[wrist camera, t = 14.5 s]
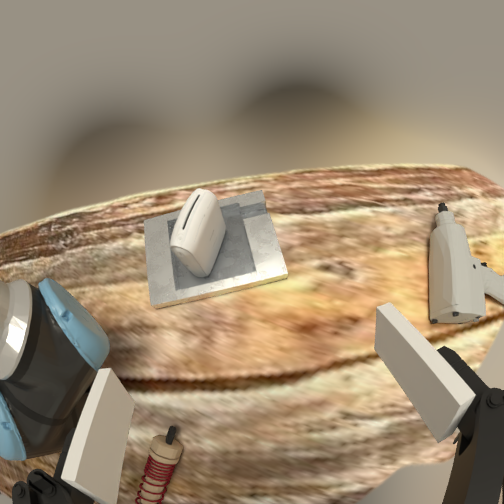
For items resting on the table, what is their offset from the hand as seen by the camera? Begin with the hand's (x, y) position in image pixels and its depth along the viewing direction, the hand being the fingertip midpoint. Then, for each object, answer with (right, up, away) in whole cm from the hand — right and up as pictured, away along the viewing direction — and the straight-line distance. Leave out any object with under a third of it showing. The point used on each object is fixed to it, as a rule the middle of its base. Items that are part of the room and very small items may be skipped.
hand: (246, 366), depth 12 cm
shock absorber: (-16, -35, +19) cm, 43 cm away
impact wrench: (+44, +2, +31) cm, 54 cm away
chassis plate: (-7, +5, +35) cm, 36 cm away
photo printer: (-7, +5, +35) cm, 36 cm away
